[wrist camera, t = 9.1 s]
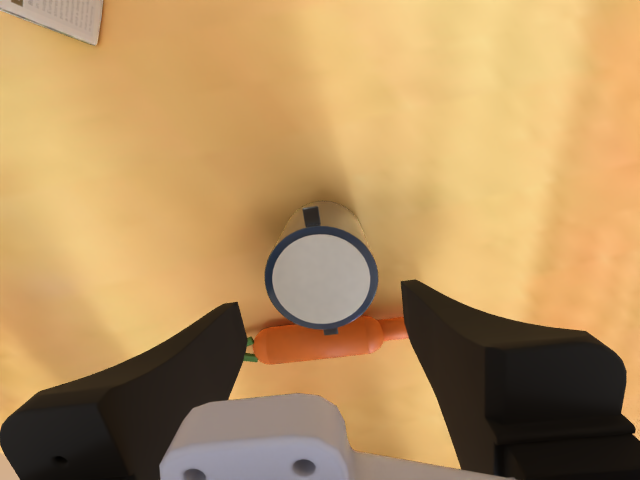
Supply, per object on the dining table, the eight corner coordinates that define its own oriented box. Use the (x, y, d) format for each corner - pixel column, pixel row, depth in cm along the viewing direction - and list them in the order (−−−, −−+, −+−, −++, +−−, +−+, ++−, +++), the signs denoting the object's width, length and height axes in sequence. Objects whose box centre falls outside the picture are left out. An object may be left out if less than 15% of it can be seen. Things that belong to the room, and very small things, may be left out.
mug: (357, 182, 20) (370, 200, 13) (368, 281, 22) (384, 337, 16) (273, 195, 20) (249, 218, 14) (293, 291, 22) (279, 349, 16)
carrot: (232, 353, 24) (220, 377, 22) (223, 326, 23) (211, 347, 21) (433, 331, 23) (445, 353, 20) (431, 301, 22) (444, 320, 20)
